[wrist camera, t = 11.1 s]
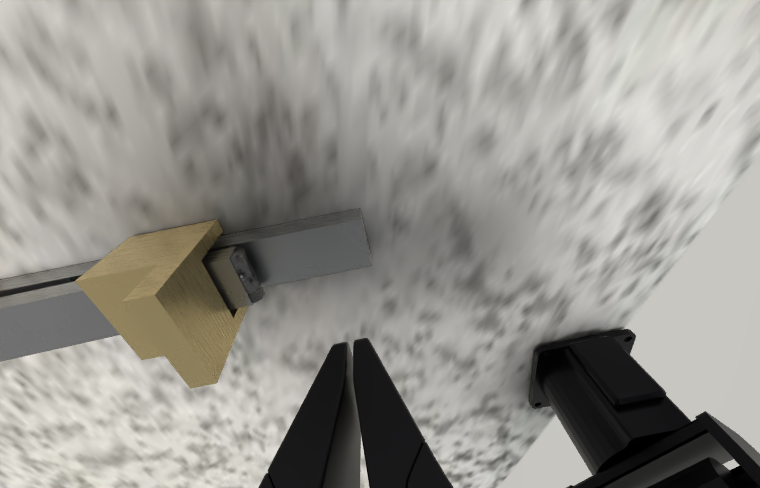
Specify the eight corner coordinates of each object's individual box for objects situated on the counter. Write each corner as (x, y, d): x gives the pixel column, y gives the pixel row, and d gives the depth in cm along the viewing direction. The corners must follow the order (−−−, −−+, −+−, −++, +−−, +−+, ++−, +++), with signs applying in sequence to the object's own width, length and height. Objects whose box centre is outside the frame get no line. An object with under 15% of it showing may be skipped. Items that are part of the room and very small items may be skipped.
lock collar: (217, 219, 14) (154, 295, 9) (253, 292, 16) (216, 383, 12) (129, 236, 14) (24, 320, 9) (178, 307, 16) (111, 403, 12)
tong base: (358, 201, 14) (359, 212, 13) (371, 258, 16) (373, 271, 15) (-74, 287, 14) (-106, 304, 13) (-18, 335, 16) (-43, 353, 15)
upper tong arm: (242, 237, 13) (236, 248, 12) (269, 294, 15) (265, 308, 14) (-132, 318, 13) (-167, 336, 12) (-63, 368, 14) (-88, 387, 13)
